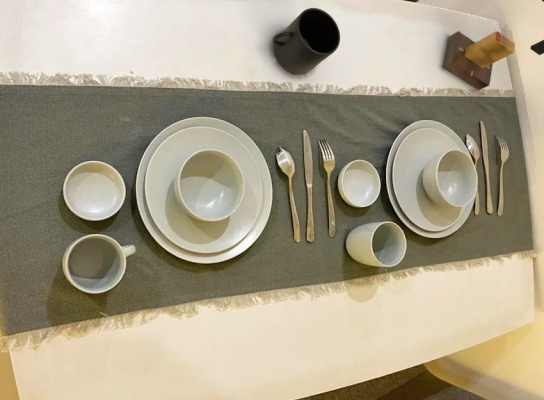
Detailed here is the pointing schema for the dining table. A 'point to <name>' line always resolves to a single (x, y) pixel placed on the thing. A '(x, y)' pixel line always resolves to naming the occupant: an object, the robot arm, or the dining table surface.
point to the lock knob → (490, 49)
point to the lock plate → (465, 62)
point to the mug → (307, 41)
